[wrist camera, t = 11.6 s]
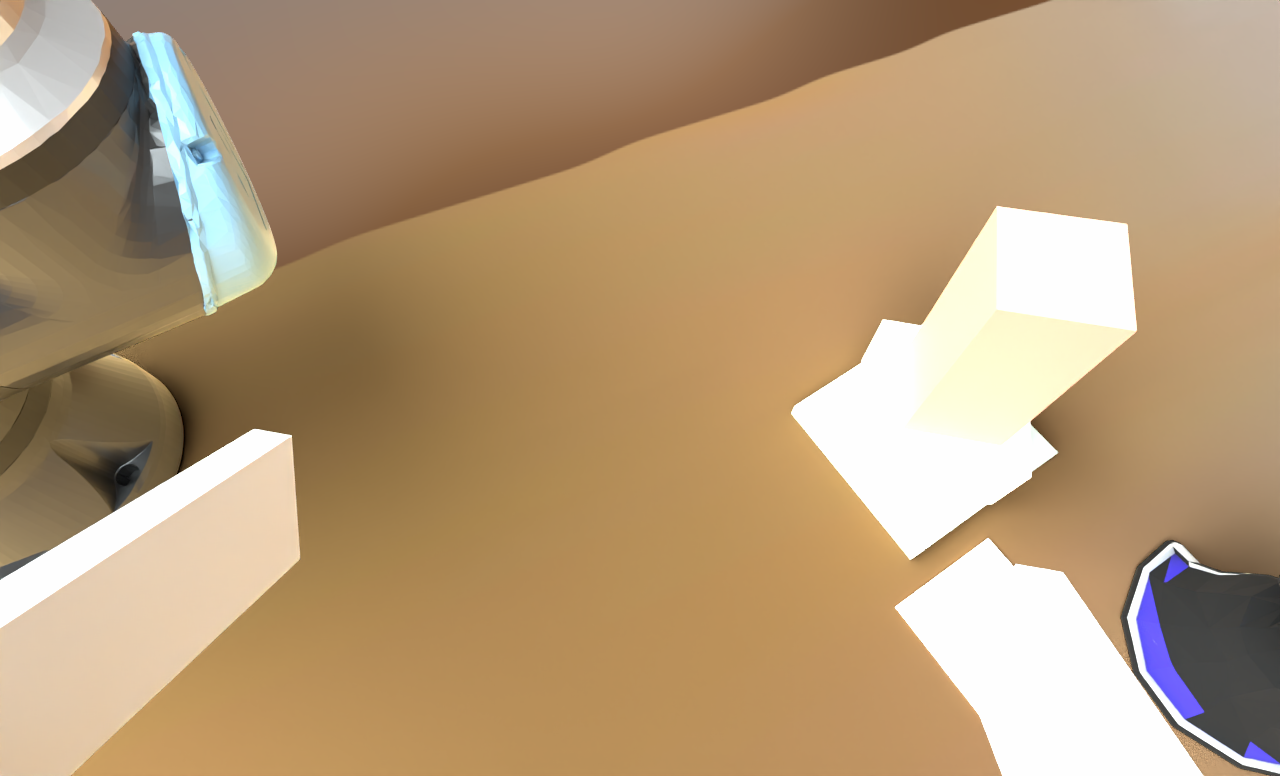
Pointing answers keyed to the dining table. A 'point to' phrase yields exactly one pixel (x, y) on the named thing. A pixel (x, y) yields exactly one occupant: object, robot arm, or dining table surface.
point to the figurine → (1209, 653)
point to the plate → (897, 509)
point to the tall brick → (1019, 324)
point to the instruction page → (960, 612)
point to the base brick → (924, 435)
